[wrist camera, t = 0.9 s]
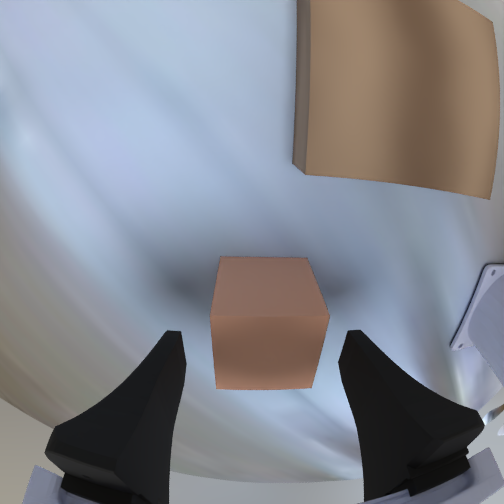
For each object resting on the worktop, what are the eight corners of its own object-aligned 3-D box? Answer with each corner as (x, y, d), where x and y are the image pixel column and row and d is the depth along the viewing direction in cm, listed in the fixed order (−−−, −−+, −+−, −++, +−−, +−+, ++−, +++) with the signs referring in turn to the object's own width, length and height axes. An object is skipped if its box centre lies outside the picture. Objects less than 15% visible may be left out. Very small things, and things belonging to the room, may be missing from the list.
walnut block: (456, 30, 9) (492, 22, 6) (452, 182, 13) (489, 199, 10) (295, -19, 9) (308, -51, 6) (290, 162, 13) (305, 174, 10)
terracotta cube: (306, 257, 15) (329, 315, 10) (297, 323, 17) (311, 388, 12) (220, 255, 15) (209, 315, 10) (222, 323, 17) (216, 389, 12)
